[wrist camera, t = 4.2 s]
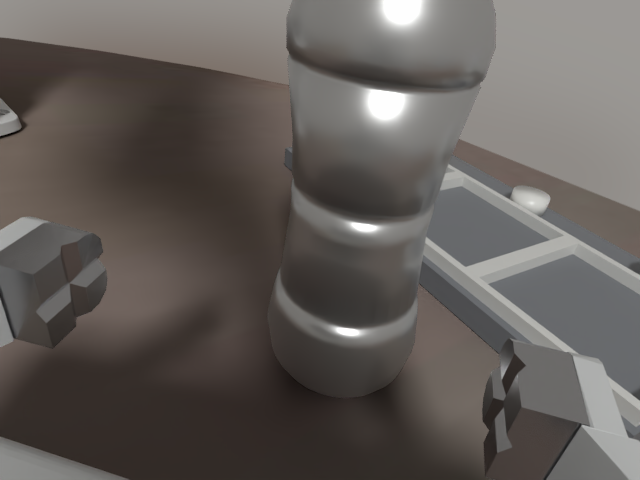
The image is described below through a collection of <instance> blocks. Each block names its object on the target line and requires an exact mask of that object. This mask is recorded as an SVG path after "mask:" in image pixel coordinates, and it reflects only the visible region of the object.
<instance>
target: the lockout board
mask: <svg viewBox="0 0 640 480" xmlns="http://www.w3.org/2000/svg"><path fill="white" fill-rule="evenodd" d="M284 165H286V166H287V167H288V168H289V169H290V170H291V171H292V147H289V148H286V149H285V163H284ZM549 201H550V196H549V195H548V194H547V193H545V192H544V191H542V190H540V189H537V188H534V187H530V186H516V187H514V189H513V188H511V187H510V186H508V185H506V184H504V183H502V182H501V181H499V180H497V179H495V178H493V177H492V176H490V175H488V174H486V173H484V172H483V171H481V170H479V169H477V168H475V167H474V166H472V165H470V164H468V163H467V162H465V161H463V160H461V159H459V158H458V157H456V156H454V155H452V156H451V158H450V161H449V164H448V167H447V170H446V173H445V176H444V179H443V183H442V186H441V189H440V192H439V195H438V198H437V200H436V201H435V203H434V211H433V214H432V217H431V220H430V223H429V226H428V229H427V234H426V240H425V246H424V253H423V259H422V265H421V271H420V278H419V284H421V285H422V286H423V287H424V288H425V289H426V290H427V291H429V292H430V293H431V294H432V295H433V296H434V297H435V298H436V299H438V300H439V301H440V302H441V303H442V304H443V305H444V306H446V307H447V308H448V309H449V310H450V311H451V312H452V313H454V314H455V315H456V316H457V317H458V318H459V319H460V320H461V321H463V322H464V323H465V324H466V325H467V326H468V327H469V328H471V329H472V330H473V331H474V332H475V333H476V334H477V335H478V336H480V337H481V338H482V339H483V340H484V341H485V342H486V343H488V344H489V345H490V346H491V347H492V348H493V349H494V350H495V351H497V352H498V353H499V354H500V351H501V349H502V347H503V345H504V343H505V342H506V341H507V339H508V338H511V339H515V340H519V341H523V342H527V343H531V344H535V345H539V346H543V347H547V348H551V349H556V350H560V351H564V352H571V353H576V354H580V355H584V356H589V357H593V358H597V359H599V360H600V361H601V362H602V363H603V366H604V368H605V371H606V374H607V377H608V380H609V383H610V386H611V389H612V392H613V394H614V397H615V400H616V403H617V406H618V409H619V412H620V415H621V418H622V420H623V423H624V426H625V429H626V432H627V435H628V438H632V439H635V440H638V441H639V442H640V259H639V258H637V257H635V256H634V255H632V254H630V253H628V252H626V251H625V250H623V249H621V248H619V247H617V246H616V245H614V244H612V243H610V242H608V241H607V240H605V239H603V238H601V237H600V236H598V235H596V234H594V233H592V232H591V231H589V230H587V229H585V228H583V227H582V226H580V225H578V224H576V223H574V222H573V221H571V220H569V219H567V218H565V217H564V216H562V215H560V214H558V213H556V212H555V211H553V210H551V209H549V208H547V206H548V204H549Z"/></svg>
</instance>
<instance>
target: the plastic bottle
mask: <svg viewBox="0 0 640 480" xmlns="http://www.w3.org/2000/svg"><path fill="white" fill-rule="evenodd" d="M286 48H287V50H288V51H289V56H288V73H289V88H290V103H291V117H292V132H293V142H292V175H293V179H292V185H291V209H290V215H289V221H288V227H287V232H286V238H285V244H284V250H283V256H282V262H281V267H280V269H279V271H278V273H277V276H276V279H275V282H274V285H273V290H272V294H271V299H270V303H269V308H268V315H267V318H268V325H269V331H270V337H271V344H272V349H273V351H274V354H275V356H276V358H277V360H278V361H279V362H280V364H281V365H282V367H283V368H284V369H285V370H286V371H287V372H288V373H289V374H290V375H291V376H292V377H293V378H294V379H295V380H296V381H297V382H299V383H300V384H302V385H303V386H305V387H306V388H308V389H310V390H312V391H314V392H317V393H319V394H322V395H326V396H330V397H337V398H355V397H360V396H364V395H367V394H370V393H372V392H375V391H377V390H379V389H381V388H383V387H385V386H387V385H388V384H389V383H391V382H392V381H393V380H394V379H395V378H396V377H397V375H398V374H399V373H400V371H401V369H402V368H403V366H404V364H405V362H406V360H407V359H408V357H409V355H410V353H411V351H412V348H413V346H414V343H415V333H416V324H417V311H418V300H417V290H418V284H419V278H420V271H421V265H422V259H423V253H424V246H425V240H426V234H427V229H428V226H429V223H430V220H431V217H432V214H433V211H434V203H435V201H436V200H437V198H438V195H439V192H440V189H441V186H442V183H443V179H444V176H445V173H446V170H447V167H448V164H449V161H450V158H451V156H452V153H453V151H454V149H455V146H456V144H457V142H458V139H459V137H460V135H461V132H462V130H463V128H464V125H465V123H466V120H467V118H468V116H469V113H470V111H471V109H472V106H473V104H474V102H475V100H476V97H477V95H478V93H479V90H480V88H481V87H480V83H481V82H482V81H483V80H484V78H485V77H486V74H487V71H488V68H489V65H490V62H491V59H492V56H493V54H494V51H495V48H496V13H495V9H494V5H493V1H492V0H292V3H291V6H290V9H289V12H288V15H287V47H286Z"/></svg>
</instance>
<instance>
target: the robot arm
mask: <svg viewBox="0 0 640 480" xmlns="http://www.w3.org/2000/svg"><path fill="white" fill-rule="evenodd" d="M21 127H22V126H21V124H20V121H19V118H18V116H17V115H16V114H15V113H14V112H13V111H12V110H11V108H10V107H9V106H8V105H7V104H6V103H5V102H4V101H3V100H2V99H1V98H0V136H2V135H5V134H9V133H12V132H15V131H17V130H19V129H21ZM102 253H103V249H102V244H101V239H100V238H99V237H98V236H97V235H95V234H94V233H90V232H87V231H83V230H79V229H76V228H72V227H69V226H65V225H61V224H58V223H54V222H49V221H46V220H42V219H38V218H35V217H22V218H20V219H18V220H17V221H15V222H13V223H12V224H10V225H8V226H7V227H5V228H3V229H2V230H0V347H2V346H4V345H6V344H8V343H10V342H12V341H14V339H18V340H22V341H25V342H29V343H33V344H37V345H41V346H44V347H48V348H52V349H53V348H54V347H55V346H56V345H57V344H58V343H59V342H60V341H61V340H63V339H64V338H65V337H66V336H67V335H68V334H69V333H70V332H71V331H72V330H73V329H74V328H75V327H76V319H77V317H79V316H81V315H84V314H87V313H89V312H91V311H92V310H93V309H94V308H95V307H96V306H97V305H98V304H99V303H100V301H101V299H102V297H103V295H104V293H105V291H106V286H107V273H106V269H105V267H104V266H103V265H102V264H101V262H100V261H99V260H98V258H99V257H100V255H101V254H102ZM482 414H483V422H484V424H485V425H486V427H487V428H488V429H489V432H488V434H487V436H486V438H485V441H484V462H485V477H488V478H491V479H494V480H640V442H639V441H638V440H635V439H632V438H628V435H627V432H626V429H625V426H624V423H623V420H622V418H621V415H620V412H619V409H618V406H617V403H616V400H615V397H614V394H613V392H612V389H611V386H610V383H609V380H608V377H607V374H606V371H605V368H604V366H603V363H602V362H601V361H600V360H599V359H597V358H593V357H589V356H584V355H580V354H576V353H571V352H564V351H560V350H556V349H551V348H547V347H543V346H539V345H535V344H531V343H527V342H523V341H519V340H515V339H511V338H508V339H507V341H506V342H505V343H504V345H503V347H502V349H501V351H500V367H498V368H496V369H494V370H492V372H491V374H490V377H489V379H488V382H487V384H486V389H485V393H484V397H483V408H482ZM0 480H130V479H127V478H124V477H121V476H118V475H115V474H112V473H109V472H106V471H103V470H100V469H97V468H94V467H91V466H88V465H84V464H81V463H78V462H75V461H72V460H69V459H66V458H63V457H60V456H57V455H54V454H51V453H48V452H45V451H42V450H39V449H36V448H33V447H30V446H27V445H24V444H21V443H18V442H15V441H12V440H9V439H6V438H3V437H0Z"/></svg>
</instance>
